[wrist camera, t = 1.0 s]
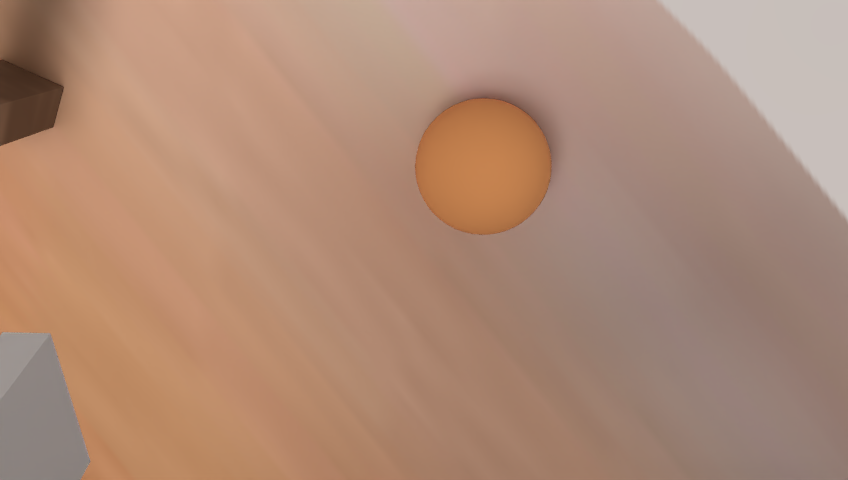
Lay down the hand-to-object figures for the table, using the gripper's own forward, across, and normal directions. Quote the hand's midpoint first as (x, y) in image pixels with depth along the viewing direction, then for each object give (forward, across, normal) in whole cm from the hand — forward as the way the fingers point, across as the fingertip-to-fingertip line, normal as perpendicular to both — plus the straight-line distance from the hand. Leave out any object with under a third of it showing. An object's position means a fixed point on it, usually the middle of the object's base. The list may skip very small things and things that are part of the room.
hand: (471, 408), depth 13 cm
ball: (+20, 0, +5) cm, 21 cm away
